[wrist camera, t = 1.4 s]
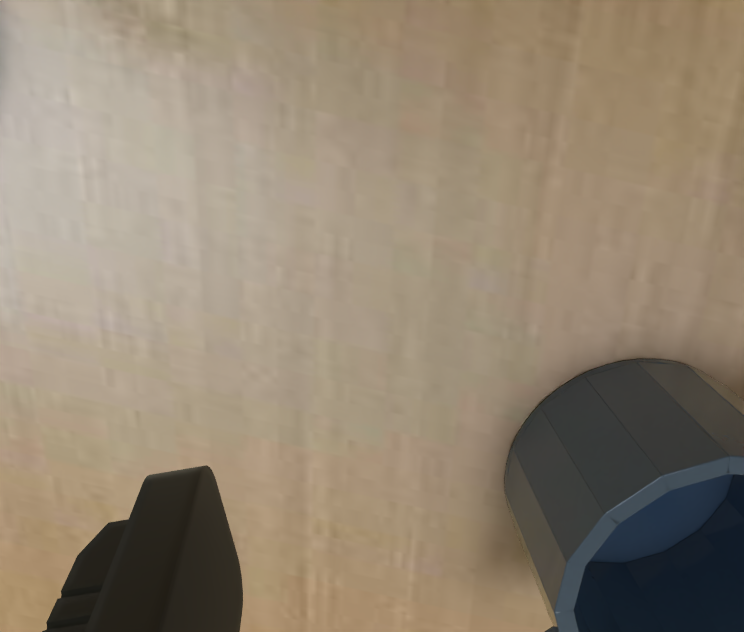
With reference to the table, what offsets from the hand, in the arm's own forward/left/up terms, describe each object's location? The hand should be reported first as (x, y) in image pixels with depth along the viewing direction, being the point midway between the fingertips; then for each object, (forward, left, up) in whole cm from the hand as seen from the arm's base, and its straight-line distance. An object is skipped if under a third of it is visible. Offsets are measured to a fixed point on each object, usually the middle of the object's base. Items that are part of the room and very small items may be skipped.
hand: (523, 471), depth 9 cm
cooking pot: (+20, 0, -21) cm, 29 cm away
